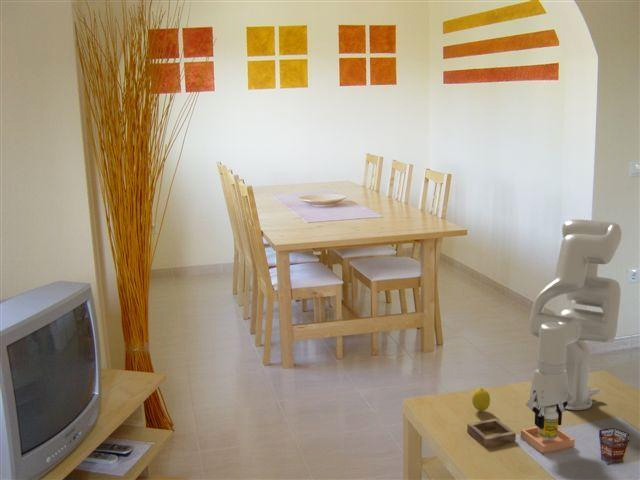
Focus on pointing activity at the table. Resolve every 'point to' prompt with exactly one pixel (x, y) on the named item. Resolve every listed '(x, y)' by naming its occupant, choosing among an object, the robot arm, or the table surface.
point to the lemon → (481, 399)
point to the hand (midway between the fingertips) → (547, 424)
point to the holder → (504, 437)
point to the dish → (547, 441)
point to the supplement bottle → (549, 423)
